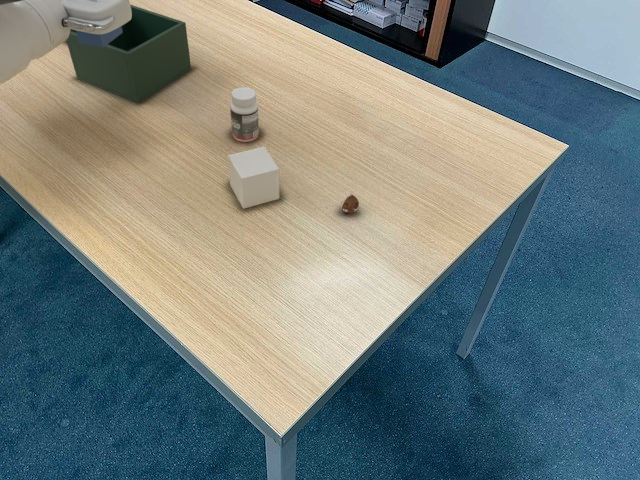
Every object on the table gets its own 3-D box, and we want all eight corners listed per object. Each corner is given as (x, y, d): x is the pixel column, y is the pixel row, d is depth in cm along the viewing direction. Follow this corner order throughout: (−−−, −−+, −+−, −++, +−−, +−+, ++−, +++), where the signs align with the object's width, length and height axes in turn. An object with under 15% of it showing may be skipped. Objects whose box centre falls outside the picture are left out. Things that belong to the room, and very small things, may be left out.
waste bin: (77, 79, 107) (63, 30, 100) (133, 48, 116) (123, 2, 109) (138, 103, 102) (128, 54, 95) (191, 69, 112) (185, 22, 105)
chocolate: (348, 220, 83) (351, 200, 80) (338, 212, 84) (340, 193, 81) (361, 211, 84) (364, 192, 82) (351, 204, 85) (353, 184, 83)
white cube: (243, 209, 83) (241, 178, 79) (230, 185, 87) (227, 155, 83) (279, 198, 85) (279, 168, 81) (265, 176, 89) (264, 146, 85)
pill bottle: (228, 130, 97) (224, 88, 91) (252, 124, 99) (251, 83, 93) (237, 145, 95) (235, 103, 89) (263, 138, 96) (261, 97, 90)
